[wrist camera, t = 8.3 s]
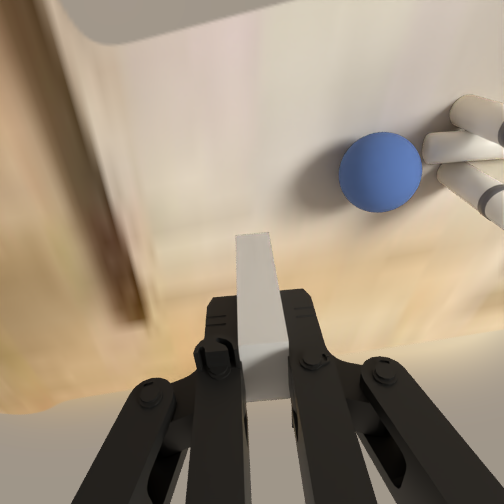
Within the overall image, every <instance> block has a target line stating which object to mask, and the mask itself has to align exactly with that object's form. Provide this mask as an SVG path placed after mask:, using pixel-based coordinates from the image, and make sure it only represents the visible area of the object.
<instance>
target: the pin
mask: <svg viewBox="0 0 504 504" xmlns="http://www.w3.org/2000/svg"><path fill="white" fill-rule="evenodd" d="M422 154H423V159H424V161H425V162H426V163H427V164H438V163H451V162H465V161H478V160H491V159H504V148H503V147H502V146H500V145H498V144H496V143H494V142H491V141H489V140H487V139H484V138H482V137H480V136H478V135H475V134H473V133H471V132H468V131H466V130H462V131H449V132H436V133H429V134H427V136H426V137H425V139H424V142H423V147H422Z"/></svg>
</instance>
